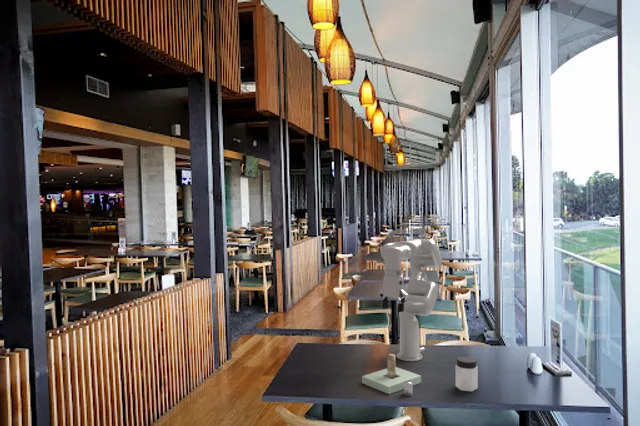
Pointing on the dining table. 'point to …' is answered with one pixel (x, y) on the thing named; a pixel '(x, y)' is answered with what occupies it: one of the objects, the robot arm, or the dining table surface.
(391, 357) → the birch pin
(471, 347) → the dining table surface
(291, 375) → the dining table surface
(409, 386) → the steel pin
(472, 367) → the jar
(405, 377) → the hole board
